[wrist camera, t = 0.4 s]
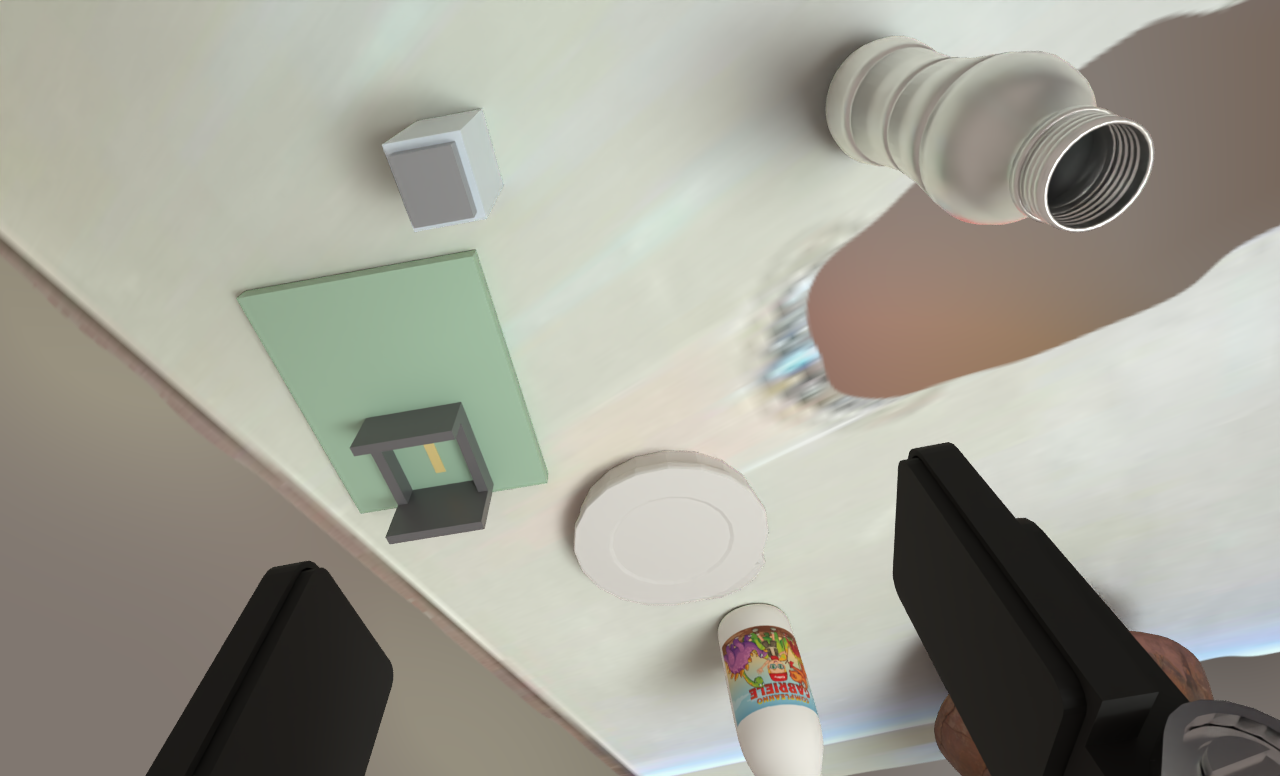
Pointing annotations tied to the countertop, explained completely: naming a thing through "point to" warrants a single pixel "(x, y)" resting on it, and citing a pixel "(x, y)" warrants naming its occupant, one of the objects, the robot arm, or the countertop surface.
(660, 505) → the lid
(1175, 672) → the pottery vessel
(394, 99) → the countertop surface
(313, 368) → the board
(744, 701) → the milk bottle
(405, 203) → the plug
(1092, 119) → the plastic bottle
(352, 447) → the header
